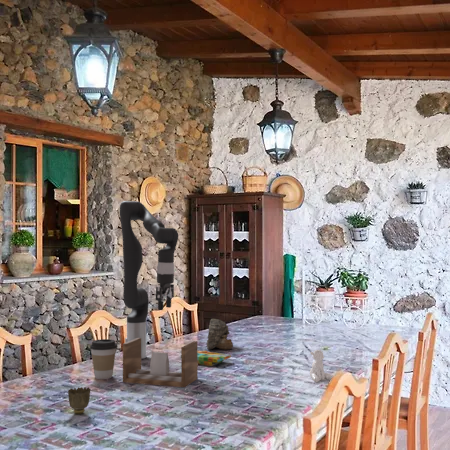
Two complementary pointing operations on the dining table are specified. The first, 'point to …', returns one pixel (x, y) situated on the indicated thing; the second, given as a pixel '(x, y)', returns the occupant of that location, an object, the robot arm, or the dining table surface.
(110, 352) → the coffee cup
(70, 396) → the cup
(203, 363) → the puzzle game
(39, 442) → the dining table surface
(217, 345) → the rock
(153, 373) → the white food carton
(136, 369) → the wooden rack
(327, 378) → the seated beast figurine
